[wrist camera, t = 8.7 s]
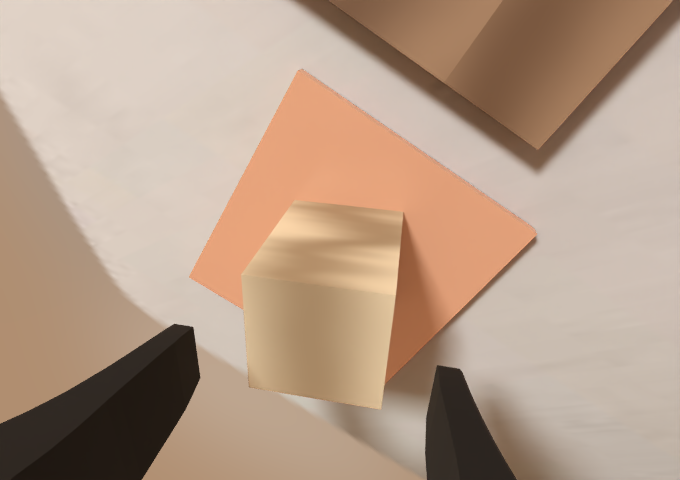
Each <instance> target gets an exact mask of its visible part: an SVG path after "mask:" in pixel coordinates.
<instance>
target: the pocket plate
mask: <svg viewBox="0 0 680 480" xmlns="http://www.w3.org/2000/svg"><path fill="white" fill-rule="evenodd" d="M328 1H330V2H331V3H332V4H334V5H335V6H337V7H338V8H339V9H341V10H342V11H344V12H345V13H346V14H348V15H349V16H351V17H352V18H353V19H355V20H356V21H358V22H359V23H360V24H362V25H363V26H365V27H366V28H367V29H369V30H370V31H372V32H373V33H374V34H376V35H377V36H379V37H380V38H381V39H383V40H384V41H386V42H387V43H388V44H390V45H391V46H393V47H394V48H395V49H397V50H398V51H400V52H401V53H402V54H404V55H405V56H407V57H408V58H409V59H411V60H412V61H414V62H415V63H416V64H418V65H419V66H421V67H422V68H423V69H425V70H426V71H428V72H429V73H430V74H432V75H433V76H435V77H436V78H437V79H439V80H440V81H442V82H443V83H444V84H446V85H447V86H449V87H450V88H451V89H453V90H454V91H456V92H457V93H458V94H460V95H461V96H463V97H464V98H466V99H467V100H468V101H470V102H471V103H473V104H474V105H475V106H477V107H478V108H480V109H481V110H482V111H484V112H485V113H487V114H488V115H489V116H491V117H492V118H494V119H495V120H496V121H498V122H499V123H501V124H502V125H503V126H505V127H506V128H508V129H509V130H510V131H512V132H513V133H515V134H516V135H517V136H519V137H520V138H522V139H523V140H524V141H526V142H527V143H529V144H530V145H531V146H533V147H534V148H536V149H537V150H539V148H540V147H541V146H542V145H543V144H544V143H545V142H546V141H547V140H548V139H549V137H550V136H551V135H552V134H553V133H554V132H555V131H556V130H557V129H558V127H559V126H560V125H561V124H562V123H563V122H564V121H565V120H566V119H567V117H568V116H569V115H570V114H571V113H572V112H573V111H574V110H575V109H576V108H577V106H578V105H579V104H580V103H581V102H582V101H583V100H584V99H585V98H586V96H587V95H588V94H589V93H590V92H591V91H592V90H593V89H594V88H595V86H596V85H597V84H598V83H599V82H600V81H601V80H602V79H603V78H604V77H605V75H606V74H607V73H608V72H609V71H610V70H611V69H612V68H613V67H614V65H615V64H616V63H617V62H618V61H619V60H620V59H621V58H622V57H623V55H624V54H625V53H626V52H627V51H628V50H629V49H630V48H631V47H632V46H633V44H634V43H635V42H636V41H637V40H638V39H639V38H640V37H641V36H642V34H643V33H644V32H645V31H646V30H647V29H648V28H649V27H650V26H651V25H652V23H653V22H654V21H655V20H656V19H657V18H658V17H659V16H660V15H661V13H662V12H663V11H664V10H665V9H666V8H667V7H668V6H669V5H670V3H671V2H672V1H673V0H328Z"/></svg>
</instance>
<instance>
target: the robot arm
mask: <svg viewBox="0 0 680 480" xmlns="http://www.w3.org/2000/svg"><path fill="white" fill-rule="evenodd" d="M199 379H200V373H199V365H198V358H197V351H196V343H195V336H194V329H193V327H190V326H184V325H178V324H173V325H172V326H170V327H169V328H167V329H165V330H164V331H162V332H161V333H159V334H158V335H156V336H155V337H153V338H152V339H150V340H149V341H147V342H146V343H144V344H143V345H141V346H139V347H138V348H136V349H135V350H133V351H132V352H130V353H129V354H127V355H126V356H124V357H123V358H121V359H119V360H118V361H116V362H115V363H113V364H112V365H110V366H108V367H107V368H106V369H104V370H102V371H100V372H99V373H97V374H95V375H93V376H92V377H90V378H88V379H87V380H85V381H83V382H82V383H80V384H78V385H77V386H75V387H73V388H71V389H70V390H68V391H66V392H65V393H62V394H61V395H59V396H57V397H55V398H53V399H51V400H49V401H47V402H45V403H43V404H41V405H39V406H38V407H35V408H33V409H31V410H29V411H27V412H25V413H23V414H21V415H19V416H16V417H14V418H12V419H10V420H7V421H6V422H3V423H1V424H0V480H142V478H143V477H144V475H145V474H146V472H147V470H148V469H149V467H150V466H151V464H152V462H153V461H154V459H155V458H156V456H157V454H158V453H159V451H160V450H161V448H162V447H163V445H164V443H165V442H166V440H167V438H168V437H169V435H170V434H171V432H172V431H173V429H174V427H175V426H176V424H177V423H178V421H179V419H180V418H181V416H182V414H183V413H184V411H185V409H186V407H187V405H188V403H189V401H190V399H191V397H192V395H193V393H194V390H195V388H196V386H197V384H198V382H199ZM425 456H426V471H427V480H517V479H516V478H515V476H514V474H513V473H512V471H511V469H510V468H509V466H508V464H507V463H506V461H505V459H504V458H503V456H502V454H501V452H500V451H499V449H498V447H497V445H496V443H495V442H494V440H493V438H492V436H491V434H490V432H489V430H488V428H487V426H486V424H485V422H484V420H483V418H482V416H481V414H480V412H479V410H478V408H477V406H476V404H475V402H474V399H473V397H472V395H471V393H470V390H469V388H468V385H467V383H466V380H465V378H464V375H463V373H462V371H461V370H460V369H457V368H451V367H444V366H438V365H437V368H436V373H435V378H434V383H433V387H432V392H431V397H430V402H429V407H428V412H427V417H426V447H425Z"/></svg>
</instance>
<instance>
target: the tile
mask: <svg viewBox="0 0 680 480" xmlns="http://www.w3.org/2000/svg"><path fill="white" fill-rule="evenodd" d="M294 200H300V201H309V202H318V203H327V204H337V205H346V206H355V207H364V208H373V209H383V210H392V211H401V212H403V222H402V233H401V244H400V256H399V267H398V278H397V289H396V298H395V306H394V314H393V322H392V329H391V337H390V345H389V352H388V360H387V368H386V376H385V383H384V385H385V384H386V383H387V382H388V381H389V380H390V379H391V378H392V377H393V376H394V375H395V374H396V373H397V372H398V371H399V370H400V369H401V368H402V367H403V366H404V365H405V364H406V363H407V362H408V361H409V360H410V359H411V358H412V357H413V356H414V355H415V354H416V353H417V352H418V351H419V350H420V349H421V348H422V347H423V346H424V345H425V344H426V343H427V342H428V341H429V340H430V339H431V338H432V337H433V336H434V335H435V334H436V333H437V332H439V331H440V330H441V329H442V328H443V327H444V326H445V325H446V324H447V323H448V322H449V321H450V320H451V319H452V318H453V317H454V316H455V315H456V314H457V313H458V312H459V311H460V310H461V309H462V308H463V307H464V306H465V305H466V304H467V303H468V302H469V301H470V300H471V299H472V298H473V297H474V296H475V295H476V294H477V293H478V292H479V291H480V290H481V289H482V288H483V287H484V286H485V285H486V284H487V283H488V282H489V281H490V280H491V279H492V278H493V277H494V276H495V275H496V274H497V273H498V272H500V271H501V270H502V269H503V268H504V267H505V266H506V265H507V264H508V263H509V262H510V261H511V260H512V259H513V258H514V257H515V256H516V255H517V254H518V253H519V252H520V251H521V250H522V249H523V248H524V247H525V246H526V245H527V244H528V243H529V242H530V241H531V240H532V239H533V238H534V237H535V236H536V235H537V233H536V231H535V229H534V228H533V227H532V226H530V225H529V224H527V223H526V222H524V221H523V220H522V219H520V218H519V217H517V216H516V215H514V214H513V213H511V212H510V211H508V210H507V209H505V208H504V207H503V206H501V205H500V204H498V203H497V202H495V201H494V200H492V199H491V198H489V197H488V196H487V195H485V194H484V193H482V192H481V191H479V190H478V189H476V188H475V187H473V186H472V185H470V184H469V183H468V182H466V181H465V180H463V179H462V178H460V177H459V176H457V175H456V174H454V173H453V172H452V171H450V170H449V169H447V168H446V167H444V166H443V165H441V164H440V163H438V162H437V161H436V160H434V159H433V158H431V157H430V156H428V155H427V154H425V153H424V152H422V151H421V150H419V149H418V148H417V147H415V146H414V145H412V144H411V143H409V142H408V141H406V140H405V139H403V138H402V137H401V136H399V135H398V134H396V133H395V132H393V131H392V130H390V129H389V128H387V127H386V126H384V125H383V124H382V123H380V122H379V121H377V120H376V119H374V118H373V117H371V116H370V115H368V114H367V113H366V112H364V111H363V110H361V109H360V108H358V107H357V106H355V105H354V104H352V103H351V102H349V101H348V100H347V99H345V98H344V97H342V96H341V95H339V94H338V93H336V92H335V91H333V90H332V89H331V88H329V87H328V86H326V85H325V84H323V83H322V82H320V81H319V80H317V79H316V78H315V77H313V76H312V75H310V74H309V73H307V72H306V71H304V70H303V69H301V70H298V71H297V73H296V75H295V77H294V79H293V81H292V83H291V85H290V87H289V88H288V90H287V92H286V94H285V96H284V98H283V100H282V102H281V104H280V105H279V107H278V109H277V111H276V113H275V115H274V117H273V119H272V121H271V123H270V124H269V126H268V128H267V130H266V132H265V134H264V136H263V138H262V140H261V141H260V143H259V145H258V147H257V149H256V151H255V153H254V155H253V157H252V158H251V160H250V162H249V164H248V166H247V168H246V170H245V172H244V174H243V176H242V177H241V179H240V181H239V183H238V185H237V187H236V189H235V191H234V193H233V194H232V196H231V198H230V200H229V202H228V204H227V206H226V208H225V210H224V212H223V213H222V215H221V217H220V219H219V221H218V223H217V225H216V227H215V229H214V230H213V232H212V234H211V236H210V238H209V240H208V242H207V244H206V246H205V248H204V249H203V251H202V253H201V255H200V257H199V259H198V261H197V263H196V265H195V266H194V268H193V270H192V272H191V274H190V276H189V277H190V278H191V279H193V280H195V281H196V282H198V283H200V284H201V285H203V286H205V287H206V288H208V289H210V290H211V291H213V292H215V293H216V294H218V295H220V296H221V297H223V298H225V299H226V300H228V301H230V302H231V303H233V304H235V305H236V306H238V307H240V308H241V309H243V295H242V281H241V274H242V273H243V271H244V270H245V269H246V267H247V266H248V264H249V263H250V262H251V260H252V259H253V257H254V256H255V255H256V253H257V252H258V250H259V249H260V248H261V246H262V245H263V243H264V242H265V241H266V239H267V238H268V236H269V235H270V234H271V232H272V231H273V229H274V228H275V227H276V225H277V224H278V222H279V221H280V220H281V218H282V217H283V215H284V214H285V213H286V211H287V210H288V208H289V207H290V206H291V204H292V203H293V202H294ZM243 310H244V309H243Z"/></svg>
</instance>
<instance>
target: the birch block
mask: <svg viewBox="0 0 680 480" xmlns="http://www.w3.org/2000/svg"><path fill="white" fill-rule="evenodd" d="M402 222H403V212H401V211H392V210H383V209H373V208H364V207H355V206H346V205H337V204H327V203H318V202H309V201H300V200H294V202H293V203H292V204H291V206H290V207H289V208H288V210H287V211H286V213H285V214H284V215H283V217H282V218H281V220H280V221H279V222H278V224H277V225H276V227H275V228H274V229H273V231H272V232H271V234H270V235H269V236H268V238H267V239H266V241H265V242H264V243H263V245H262V246H261V248H260V249H259V250H258V252H257V253H256V255H255V256H254V257H253V259H252V260H251V262H250V263H249V264H248V266H247V267H246V269H245V270H244V271H243V273H242V274H241V281H242V295H243V309H244V324H245V338H246V352H247V367H248V381H249V387H250V388H256V389H262V390H268V391H274V392H280V393H286V394H291V395H297V396H303V397H309V398H315V399H321V400H327V401H333V402H339V403H345V404H351V405H357V406H363V407H369V408H375V409H381V407H382V399H383V391H384V383H385V376H386V368H387V360H388V352H389V345H390V337H391V329H392V322H393V314H394V306H395V298H396V289H397V278H398V267H399V256H400V244H401V233H402Z"/></svg>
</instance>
